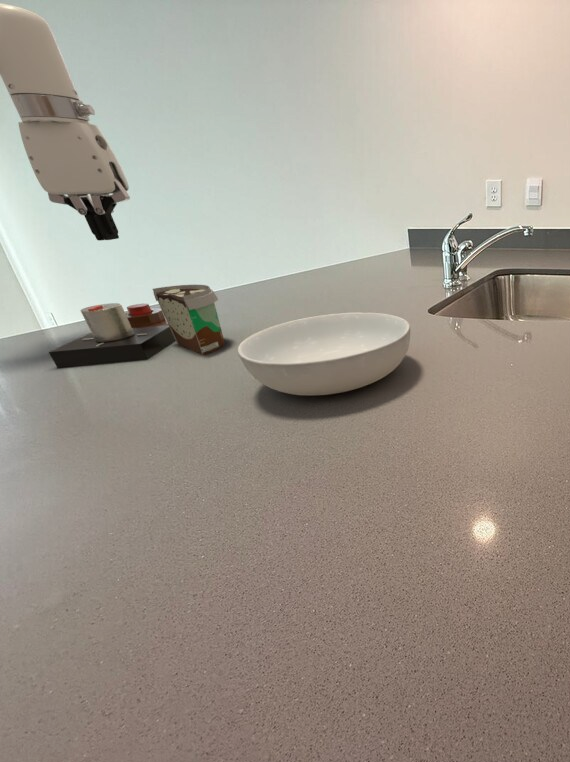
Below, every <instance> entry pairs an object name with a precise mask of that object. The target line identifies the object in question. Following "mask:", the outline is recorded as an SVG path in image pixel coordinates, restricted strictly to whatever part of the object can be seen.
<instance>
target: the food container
mask: <svg viewBox="0 0 570 762" xmlns="http://www.w3.org/2000/svg"><path fill="white" fill-rule="evenodd" d="M152 291H153V292H152V293H153V296H154V299H155V301H156V302H157V304H158V305H159V308H160V309H161V310H162V312H163V315H164V316H165V318H166V320H167V323H168V325H169V327H170V329H171V332H172V334H173V336H174V338H175V340H176V341H175V343H176V344H177V345H176V346H180V347H182V348H185V349H187V350H190V351H193V352H196V353H198V354H200V355H202V356H206V355H208V354H211V353H214V352H216V351H218V350H220V349H221V348H223V347H225V345H226V342H225V339H224V335H223V331H222V327H221V323H220V319H219V316H218V312H217V308H216V305H215V303H216V302H217V301H218V299H219V298H218V296H217V295H216V293H215V291H214V290H213V289H211V287H210V286H209V285H207V284H178V285H170V286H169V285H168V286H161V287H156V288H155V287H154V288H152Z"/></svg>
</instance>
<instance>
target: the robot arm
mask: <svg viewBox="0 0 570 762" xmlns="http://www.w3.org/2000/svg"><path fill="white" fill-rule="evenodd" d="M0 78H1V79H2V82H3V84H4V86H5V88H6V90H7V92H8V95H9V96H10V99H11V100H12V103H13V105H14V107H15V110H16V111H17V113H18V115H19V118H20V120H21V121H19V122H17V123H18V124H17V125H18V128H19V129H18V130H19V132H20V138H21V141H22V144H23V148H24V150H25V152H26V156H27V159H28V161H29V164H30V165H31V166H30V167H31V168H32V171H33V173H34V175H35V177H36V179H37V181H38V183H39V185H40V187H41V188H42V189H43V190H44V191H45V192H46V193H47V195H48V200H49V202H51V203H54V204H60V205H67V206H69V207H70V208H72V209H74V210H75V211H77V213H78V214H79V215H81V216H84V218H85V220H86V223H87V225H88V227H89V230H90V231H91V233H92V234H93V235H94V237H95V240H97V241H112V240H117V239H120V236H119V230H118V227H117V224H116V223H115V220H114V217H113V214H114V212H115V211H114V209H115V208H116V207H117V204H120V203H123V202H127V201H129V200H130V199H131V196H130V195H129V193H128V191H129V190H130V187H129V182H128V181H127V177H126V175H125V173H124V171H123V169H122V167H121V165H120V162H119V161H118V159H117V157H116V154H115V152H114V150H113V149H112V147H111V145H110V143H109V141H108V140H107V138H106V137H105V135H104V134H103V132H102V131H101V129H100V127H99V126H98V125H96V124H91V123H90V121H91V120H90V116H95V109H94V107H93V106H92V105H91V104H85V103H84V102H83V101H82V100H81V99H80V96H79V94H78V90H77V89H76V86H75V83H74V81H73V78H72V76H71V74H70V71H69V69H68V66H67V63H66V61H65V59H64V56H63V54H62V52H61V50H60V47H59V44H58V42H57V39H56V36H55V34H54V33H53V30H52V27H50V25H49V23H48V22H47V21H46V20H45V18H43V17H42V16H40V15H39V14H37V13H35V12H34V11H32V10H29V9H27V8H23V7H20V6H16V5H12V4H8V3H7V4H6V3H1V2H0Z"/></svg>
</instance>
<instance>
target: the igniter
mask: <svg viewBox="0 0 570 762" xmlns="http://www.w3.org/2000/svg"><path fill="white" fill-rule="evenodd" d="M151 311H152V312H151V313H148V314H143V315H136V316H130V314H129V312H128V311H127V312H125V314H126V316H127V318H128V320H129V323H130V325H131V327H132V328H143V327H155V326H167V325H168V323H167V320H166V318H165V316H164V314H163V312H162V309H161V308H156V307H155V308H154V307H153V308H151Z"/></svg>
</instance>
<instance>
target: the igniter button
mask: <svg viewBox="0 0 570 762" xmlns="http://www.w3.org/2000/svg"><path fill="white" fill-rule="evenodd" d="M126 309H127V312H129V314H130V316H136V315H143V314H148V313H151V312H152V311H151V309H152V308H151V306H150V304H149V303H136V304H131V305H128V306H126Z"/></svg>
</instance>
